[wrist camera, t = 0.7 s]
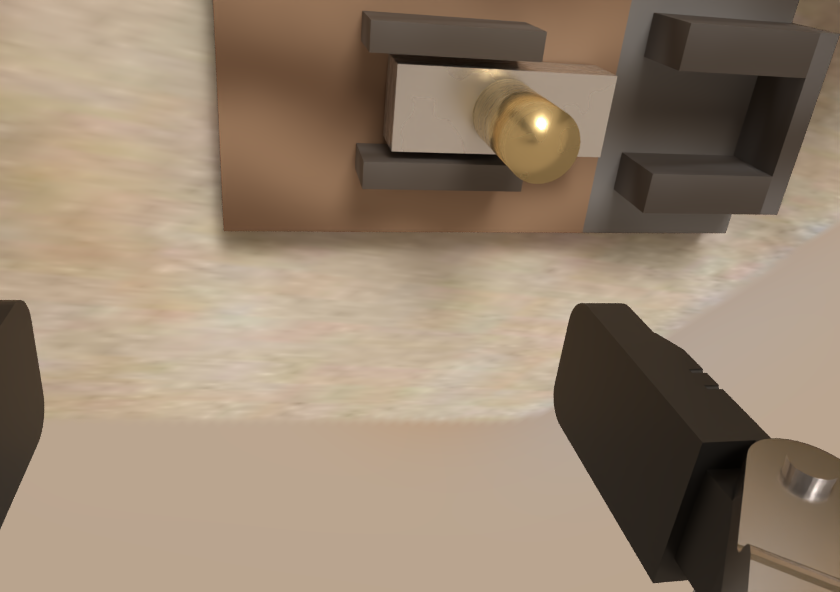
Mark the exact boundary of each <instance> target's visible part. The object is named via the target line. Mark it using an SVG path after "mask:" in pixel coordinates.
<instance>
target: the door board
mask: <svg viewBox="0 0 840 592" xmlns="http://www.w3.org/2000/svg"><path fill="white" fill-rule="evenodd" d="M798 3H799V0H213V11H214V32H215V54H216V75H217V97H218V118H219V140H220V161H221V182H222V204H223V225H224V231H324V232H560V233H726V230H727V227H728V224H729V221H730V218H731V214H763V215H777V213H778V211H779V208H780V205H781V202H782V199H783V196H784V193H785V191H786V188H787V185H788V182H789V179H790V176H791V173H792V170H793V168H794V165H795V162H796V159H797V156H798V153H799V150H800V148H801V145H802V142H803V139H804V136H805V133H806V130H807V127H808V125H809V122H810V119H811V116H812V113H813V110H814V107H815V105H816V102H817V99H818V96H819V93H820V90H821V87H822V84H823V82H824V79H825V76H826V73H827V70H828V67H829V64H830V62H831V59H832V56H833V53H834V50H835V47H836V44H837V41H838V39H839V36H840V34H838V33H833V32H829V31H824V30H820V29H816V28H811V27H807V26H802V25H798V24H794V23H792V22H793V18H794V15H795V12H796V9H797V6H798ZM388 54H405V55H422V56H439V57H456V58H474V59H491V60H508V61H525V62H551V63H568V64H585V65H596V66H598V67H600V68H602V69H604V70H606V71H608V72H610V73H612V74H614V75H616V76H617V81H616V85H615V90H614V95H613V99H612V104H611V109H610V113H609V118H608V123H607V127H606V132H605V137H604V142H603V146H602V151H601V156H600V157H577V158H576V160H575V162H574V163H573V165H572V166H571V167H570V169H569V170H568V171H567V172H566V173H565V174H563V175H562V176H561V177H559V178H557V179H556V180H553V181H551V182H548V183H543V184H532V183H528V182H525V181H523V180H521V179H520V178H518V177H517V176H516V175H515V174H514V173H513V172H512V171H511V170H510V169H509V168H508V167H507V165H506V164H505V163H504V162H503V161H502V160H501V159H500V158H499V157H498V156H497V155H496V154H465V153H430V152H395V151H391V149H390V147H389V146H388V144H387V142H386V140H385V138H384V136H383V132H384V116H385V100H386V85H387V69H388Z"/></svg>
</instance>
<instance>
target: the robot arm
mask: <svg viewBox="0 0 840 592" xmlns="http://www.w3.org/2000/svg"><path fill="white" fill-rule="evenodd" d="M718 386H719V385H718V384H717V383H716V382H715V381H714V380H713V379H712V378H711V377H710V376H709V375H708V374H707V373H703V369H702V368H701V367H700V366H699V365H698V364H697V363H696V362H695V361H694V360H693V359H692V358H691V357H690V356H689V355H688V354H687V353H686V352H685V351H684V350H683V349H682V348H680V347H678V346H677V345H675V344H673V343H672V342H670V341H668V340H667V339H665V338H663V337H661V336H660V335H658V334H656V333H654V332H653V331H652V330H651V329H650V328H649V327H648V326H647V325H646V324H645V323H644V322H643V321H642V320H641V319H640V318H639V317H638V316H637V315H636V314H635V313H634V312H633V310H632V309H631V308H630V307H629V306H627V305H626V304H622V303H580V304H578V305H576V306H575V307H574V309H573V311H572V313H571V315H570V319H569V323H568V327H567V332H566V336H565V341H564V345H563V349H562V354H561V358H560V363H559V367H558V372H557V376H556V381H555V386H554V408H555V413H556V417H557V420H558V422H559V424H560V426H561V428H562V429H563V431H564V433H565V434H566V436H567V438H568V440H569V441H570V443H571V445H572V446H573V448H574V450H575V451H576V453H577V455H578V457H579V458H580V460H581V462H582V463H583V465H584V467H585V468H586V470H587V472H588V474H589V475H590V477H591V478H592V480H593V482H594V484H595V485H596V487H597V489H598V490H599V492H600V494H601V496H602V497H603V499H604V501H605V502H606V504H607V505H608V508H609V509H610V511H611V513H612V514H613V516H614V518H615V519H616V521H617V523H618V525H619V526H620V528H621V530H622V531H623V533H624V535H625V536H626V538H627V540H628V541H629V543H630V545H631V547H632V548H633V550H634V552H635V553H636V555H637V557H638V558H639V560H640V562H641V564H642V565H643V567H644V569H645V570H646V572H647V574H648V575H649V577H650V579H651V580H652V582H653V583H661V582H672V581H683V580H688V581H689V582H690V584H691V585H692V587H693V588H694V591H693V592H840V459H839V458H837V457H835V456H833V455H832V454H830V453H828V452H826V451H824V450H821V449H819V448H817V447H814V446H811V445H809V444H806V443H802V442H799V441H794V440H789V439H780V438H770V437H769V436H768V435H767V434H766V433H765V432H764V431H763V430H762V429H761V428H760V427H759V426H758V425H757V423H756V422H754V420H753V419H752V418H750V417H749V415H748V414H747V413H746V412H745V411H744V410H743V409H741V407H740V406H739V405H738V404H737V403H736V402H735V401H734V400H733V399H732V398H731V397H730V396H729V395H728V394H727V393H726V392H725V391H724V390H723V389H719V388H718ZM43 420H44V396H43V389H42V383H41V377H40V370H39V364H38V358H37V352H36V346H35V340H34V333H33V327H32V321H31V316H30V312H29V309H28V307H27V305H26V303H25V302H24V301H22V300H0V528H1V526H2V524H3V522H4V519H5V517H6V515H7V512H8V510H9V508H10V506H11V503H12V501H13V499H14V497H15V494H16V492H17V490H18V488H19V485H20V483H21V481H22V478H23V476H24V474H25V472H26V469H27V467H28V465H29V462H30V460H31V458H32V456H33V454H34V451H35V449H36V447H37V444H38V442H39V439H40V436H41V432H42V428H43Z"/></svg>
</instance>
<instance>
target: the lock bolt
mask: <svg viewBox="0 0 840 592" xmlns="http://www.w3.org/2000/svg"><path fill="white" fill-rule="evenodd" d="M616 81H617V76H616V75H614V74H612V73H610V72H608V71H606V70H604V69H602V68H600V67H598V66H596V65H585V64H568V63H551V62H525V61H508V60H491V59H474V58H456V57H439V56H422V55H405V54H388V69H387V85H386V100H385V116H384V132H383V136H384V138H385V140H386V142H387V144H388V146H389V147H390V149H391V151H395V152H430V153H465V154H496V155H497V156H498V157H499V158H500V159H501V160H502V161H503V162H504V163H505V164H506V165H507V167H508V168H509V169H510V170H511V171H512V172H513V173H514V174H515V175H516V176H517V177H518V178H520V179H521V180H523V181H525V182H528V183H532V184H543V183H548V182H551V181H553V180H556V179H557V178H559V177H561V176H562V175H563V174H565V173H566V172H567V171H568V170H569V169H570V167H571V166H572V165H573V163H574V162H575V160H576V158H577V157H600V156H601V151H602V146H603V142H604V137H605V132H606V127H607V123H608V118H609V113H610V109H611V104H612V99H613V95H614V90H615V85H616Z"/></svg>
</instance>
